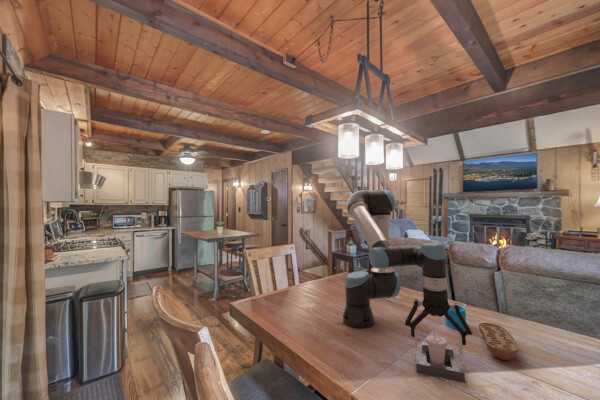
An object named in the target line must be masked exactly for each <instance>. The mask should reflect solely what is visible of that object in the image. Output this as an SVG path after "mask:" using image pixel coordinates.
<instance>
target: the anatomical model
mask: <svg viewBox="0 0 600 400" xmlns="http://www.w3.org/2000/svg"><path fill="white" fill-rule="evenodd" d="M478 330H479V332H480V333H481V335H482V336H483V337H484V339H485V342H486V344H485V345H486V348H487V349H488V351H489V352H490V353H491V355H493V356H494V357H496V358H497V359H500V360H503V361H510V360H513V359H514V358H516V356H517V354H518V348H519V347H518V345H517V342H516V340H515V338H514V336H512V334H511V333H510V332H509V331H508V330H507V329H506V328H505V327H503V326H501V325H498V324H495V323H489V322H481V323H479V324H478Z"/></svg>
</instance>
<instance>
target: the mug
mask: <svg viewBox="0 0 600 400" xmlns="http://www.w3.org/2000/svg"><path fill="white" fill-rule="evenodd" d="M458 306H459V310H460V313H461V314H462V316H463V318H464V319H465V321H466V322H467V317H466V316H467V315H466V308H465V307H464V306H462V305H459V304H458ZM447 312H448V313H449V314H450V315H451V316H452V318H453V319H454V320H455V321H456V322H457V323H458V324H459V325H460V326H461V327H462V329H463V330H464V329H465V328H464V326H463V324H462V323H461V321H460V319H459V318H458V316H457V314H456V311H453V310H452V308H450V309H449V310H448V311H447ZM444 318H445V326H446V327H448V328H451V329H453V330H457V329H456V328H455V327H454V326H453V325H452V324H451V322H450V321H449V320H448V319H447V318H446V317H445V316H444Z"/></svg>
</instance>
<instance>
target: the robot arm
mask: <svg viewBox="0 0 600 400" xmlns="http://www.w3.org/2000/svg"><path fill="white" fill-rule="evenodd" d="M395 207H396V202H395V197H394V196H393V194H392V193H391V192H390V191H389V190H386V189H367V190H366V189H365V190H363V189H362V190H361V189H360V190H357V191H355V192H353V193H352V194H351V195H350V196H349V197H348V200H347V203H346V210H347V212H348V215H349V217H350V218H352V219H354V222H355V223H356V225H357V227H358V229H359V230H360V232H361V234H362V236H363V238H364V239H365V242H366V243H367V245H368V247H369V250H368V259H369V264H370V266H371V267H372V268H370V273H369V272H367V271H362V270H361V271H353V272H350V273H348V274H346V276H345V278H344V279H345V280H344V282H345V283H344V287H345V289H344V290H345V308H344V311H343V314H342V322H343V323H344V324H345V325H346V326H348V327H350V326H351V328H354V327H355V328H356V329H367V328H371V327H372V326H374V324H375V316H374V313H373V310H372V308H371V300H377V299H390V298H395V297H397V296H398V295H399V293H400V291H401V285H402V284H401V279H400V276H399V275H398V273H396V272H395V269H394V267H395V268H396V267H407V266H408V267H410V266H417V267H420V268H421V271H422V273H421V275H422V286H423V288H422V292H423V293H422V295H423V296H422V297H423V300H420V299H417V298H414V300H413V305H412V308H411V309H410V311H409V313H408V315H407V317H406V318H405V322H404V323H405V324H404V325H405V326H407V327H409V328H410V336H411V337H412V338H414V348H415V349H416V348H418V346H419V345H418V328H417V326H418V325H419V324H420V323H421V322H422V321H423V320H424V319H425V318H426V317H427V316H428V315H430V316H433V317H434V316H435V317H440V318H441V317H443V316H444V318H445V317H446V318H447V319H448V320H449V321H450V322H451V324H452V325H453V326H454V327H455V328H456V329H455V330H456V331H457V341H458V342H457V343H458V352H459V353H458V354H459V355H460V357H464V356H463V346H466V345H467V336H473V335H472V334H473V332H472V330H471V328H470V326H469V325H468V323H467V320H466V321H465V319H464V318H463V316H462V314H461V313H460V310H459V306H460V305H459V304H458V303H457V302H454V303H449V299H448V298H449V297H448V296H449V294H448V290H447V289H448V281H447V280H448V279H447V255H446V247H445V245H444V244H443V243H439V242H424V243H421V245H418V244H414V243H412V244H411V243H407V244H405V245H397V246H396V245H395V246H392V245H391V244H390V231H389V218H390V217H391V215H392V214H391V213H393V212H394V210H395ZM458 305H459V306H458ZM421 306H423V308H424V309H422V311H421V312H420V313H419V314H418V315H417V316H416V317H415V318H414V316H415V314H416V312H417V310H418V308H419V307H420V308H421ZM450 308H452V310H453V311H456V314H457V316H458V318H459V319H460V321H461V323H462V324H463V326H464V328H465V329H462V327H461V326H460V325H459V324H458V323H457V322H456V321H455V320H454V319H453V318H452V316H451V315H450V314H449V313H448V312H447V311H448V310H449V309H450ZM413 318H414V319H413Z"/></svg>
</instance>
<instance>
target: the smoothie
mask: <svg viewBox="0 0 600 400" xmlns="http://www.w3.org/2000/svg"><path fill="white" fill-rule="evenodd" d="M432 328H433V329H432V331H433V332H432V333H433V334H431V335H427V336H426V338H425V341H426V342H425V343H427V344H428V349H429V355H430V360H429V361H430V363H431V364H436V365H441V366H445V363H444V360H445V349H446V347H447V346H448V344H447V339H446V338H444V337H443V336H440V335H437V334H436V327H435V326H433V327H432Z"/></svg>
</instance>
